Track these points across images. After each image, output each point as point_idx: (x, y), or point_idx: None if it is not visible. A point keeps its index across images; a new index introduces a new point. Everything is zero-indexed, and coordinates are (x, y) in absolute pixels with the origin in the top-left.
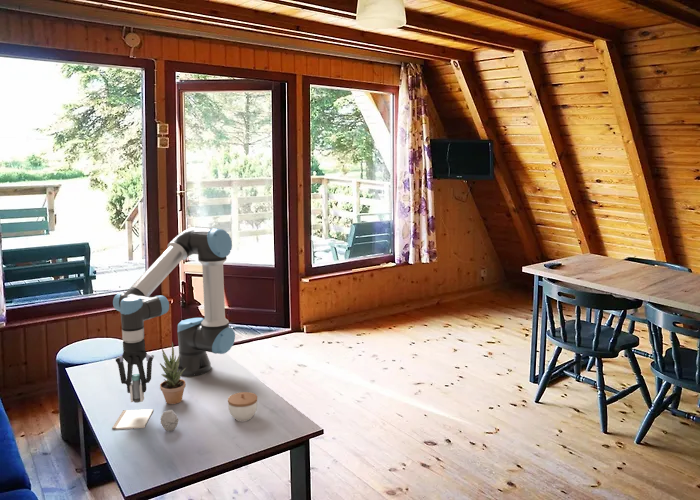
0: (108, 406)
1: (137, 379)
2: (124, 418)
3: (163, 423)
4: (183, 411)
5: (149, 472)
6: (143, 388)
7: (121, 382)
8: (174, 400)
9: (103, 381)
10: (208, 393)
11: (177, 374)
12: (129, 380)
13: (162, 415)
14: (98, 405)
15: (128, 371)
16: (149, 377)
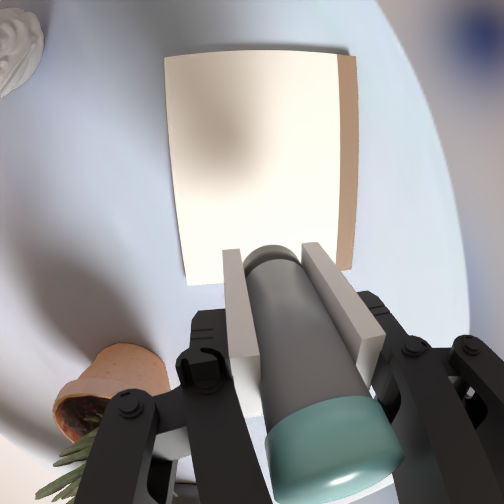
0: (411, 313)
1: (301, 426)
2: (322, 169)
3: (21, 13)
4: (37, 268)
5: None
6: (213, 339)
7: (480, 341)
8: (106, 353)
9: None
10: (46, 401)
11: (80, 478)
12: (416, 386)
13: (8, 36)
14: (440, 316)
15: (486, 497)
16: (91, 455)
